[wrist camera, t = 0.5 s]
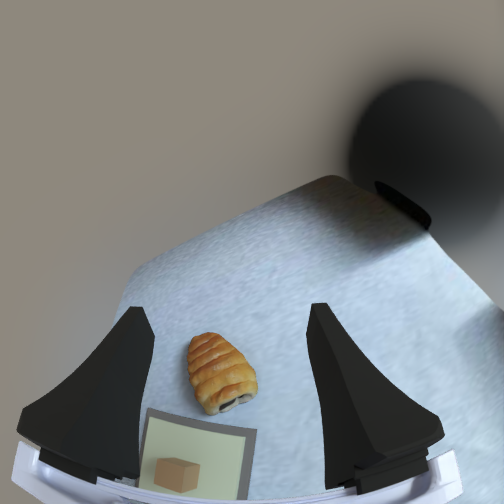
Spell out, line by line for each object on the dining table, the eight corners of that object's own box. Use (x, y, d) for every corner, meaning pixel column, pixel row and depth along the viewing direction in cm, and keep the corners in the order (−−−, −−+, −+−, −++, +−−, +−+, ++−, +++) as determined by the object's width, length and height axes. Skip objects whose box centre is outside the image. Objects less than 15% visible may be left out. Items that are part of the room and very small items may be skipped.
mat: (241, 532, 15) (240, 533, 15) (135, 498, 18) (133, 498, 18) (257, 429, 23) (256, 429, 23) (149, 408, 26) (148, 407, 26)
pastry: (181, 352, 30) (165, 341, 27) (228, 325, 31) (217, 311, 28) (213, 420, 24) (199, 418, 21) (268, 391, 25) (261, 385, 22)
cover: (232, 524, 16) (217, 536, 12) (141, 495, 19) (118, 498, 15) (245, 437, 22) (232, 437, 19) (153, 417, 25) (131, 412, 22)
